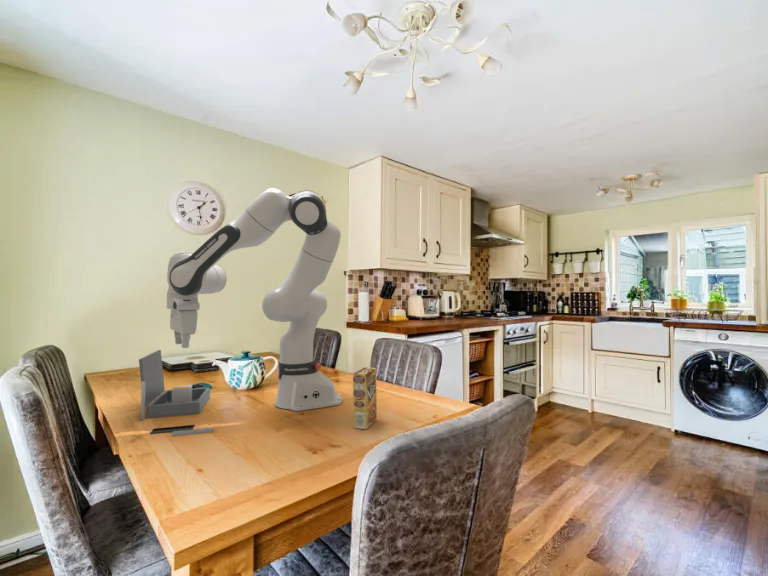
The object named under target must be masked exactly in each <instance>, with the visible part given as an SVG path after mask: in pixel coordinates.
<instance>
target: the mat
mask: <svg viewBox="0 0 768 576" xmlns="http://www.w3.org/2000/svg"><path fill="white" fill-rule="evenodd" d="M193 426H195V424H188V425H178V426H169V427H168V426H166V427H158V428H156V427H155V428H153V429H152V430H150V432H149V434H150V435H153V434H155V435H156V434H163V433H164V434H165V432H167V433H172V432H173V431H181V430H192V429H193V428H194V427H193Z"/></svg>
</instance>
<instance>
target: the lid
mask: <svg viewBox="0 0 768 576" xmlns="http://www.w3.org/2000/svg"><path fill="white" fill-rule="evenodd" d="M162 360H163V359H162V351H161V349H157V350H156V351H154V352H151V353H149V354H147V355H145V356H143V357H141V358H139V359H138V363H139V364H138V365H139V376H140V383H141V382H142V381H145V408H147V406H148V405H149V404H150V403H152V402H153V401H154V400H155V399H156V398H157V397H158V396H160V395H161V394H162V393H163V392H164V391H166V389H165V379H164V370H163V369H164V368H163V361H162Z"/></svg>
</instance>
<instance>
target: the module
mask: <svg viewBox="0 0 768 576" xmlns="http://www.w3.org/2000/svg"><path fill="white" fill-rule="evenodd" d="M192 385H193V384H187V385H175V386H173V388H172V403H185V402H192Z"/></svg>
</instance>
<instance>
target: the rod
mask: <svg viewBox="0 0 768 576" xmlns="http://www.w3.org/2000/svg"><path fill="white" fill-rule="evenodd" d="M214 432H215V428H214V427H213V426H212V427H205V428H204V427H203V428H196V429H195V428H194V429H193V428H192V430H181V431H173V432H171V437H176V436H178V435H179V436H188V435H196V434H207V433H214Z"/></svg>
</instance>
